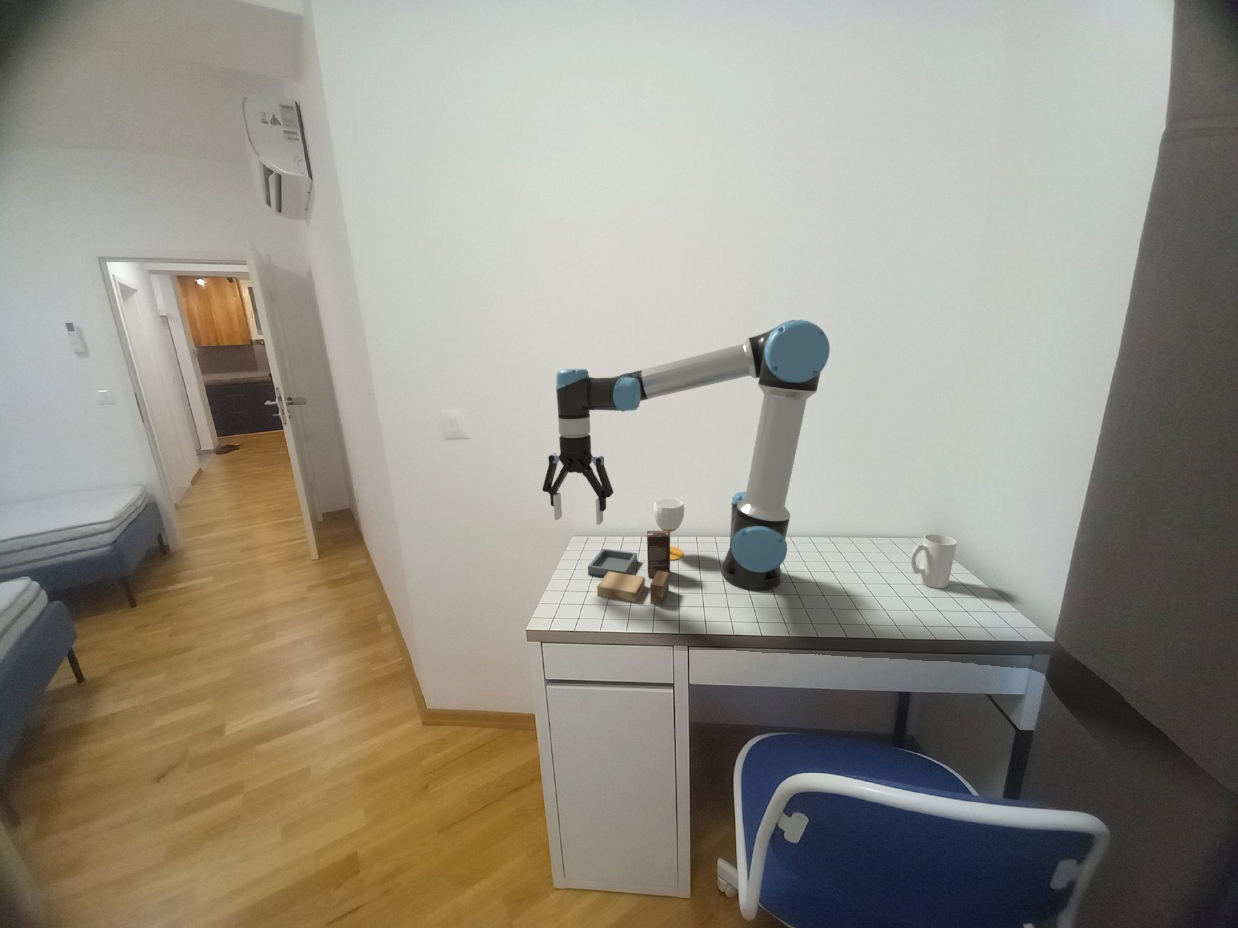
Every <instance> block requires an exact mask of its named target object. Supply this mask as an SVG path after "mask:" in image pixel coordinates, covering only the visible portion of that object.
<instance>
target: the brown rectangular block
mask: <svg viewBox="0 0 1238 928" xmlns="http://www.w3.org/2000/svg"><path fill="white" fill-rule="evenodd" d="M649 586H650V589H649V590H650V592H649V594H650V596H649V597H650V598H649V599H650V604H655V605H659V606H660V605H661V606H663V605H664V603H665V600H666V598H667V595H668V593H669V590H670V577H669V572H662V571H657V573H656V574H655V576H654V577H653V578H652V581H651V583H650V585H649Z"/></svg>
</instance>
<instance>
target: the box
mask: <svg viewBox="0 0 1238 928" xmlns="http://www.w3.org/2000/svg"><path fill="white" fill-rule="evenodd" d="M646 547H647V548H646V551H647V577H648V578H650V579H651V578H652V579H653V578H654V576H655V574H656V573H657V571H662V572H669V578H670V577H671V560H670V547H671V534H670V535H669V531H668V530H666V531H663V530H646Z"/></svg>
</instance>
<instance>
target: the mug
mask: <svg viewBox="0 0 1238 928" xmlns="http://www.w3.org/2000/svg"><path fill="white" fill-rule="evenodd" d="M957 543H958V541H957V539H956V540H955V539H954V538H953V537H950V536H947V535H943V534H937V533H929V534H928V533H927V534H924V535H923V541H922V543H916V546H915V547H914V549H913V550H912V552H911V555H910V565H911V571H912V572H913V573H914V574H916V575H918V577H917V579H918V581H919V582H920V584H923V585H924V586H926V587H929V588H934V589H946V588H947V587H948V586H949V581H950V577H951V574H952V573H951V572H952V569H953V568H952V567H953V563H954V558H955V554H956V548H957ZM920 552H921V555H920V556H921V557H920V563H919V567H918V566H917V560H916V558H917V556H918V554H919V553H920Z"/></svg>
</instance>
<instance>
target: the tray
mask: <svg viewBox="0 0 1238 928" xmlns="http://www.w3.org/2000/svg"><path fill="white" fill-rule="evenodd" d="M637 562H638V552H632V551H626V550H625V551H623V550H618V549H617V550H616V549H608V548H602V549H601V550H600V551H599V552H598V554H597V555H596V556H595V557H593V560H592V561H590V563H589V564H588V565H587V575H588V576H593V577H594V576H595V577H601V578H604V577H605V575H606V574H607V573H608V571H609V572H616V573H622V574H629V575H630V573H631V572H632V569H634V567H635V566H636V563H637Z"/></svg>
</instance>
